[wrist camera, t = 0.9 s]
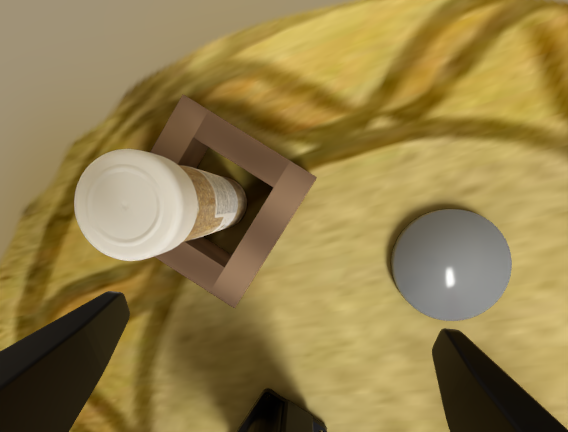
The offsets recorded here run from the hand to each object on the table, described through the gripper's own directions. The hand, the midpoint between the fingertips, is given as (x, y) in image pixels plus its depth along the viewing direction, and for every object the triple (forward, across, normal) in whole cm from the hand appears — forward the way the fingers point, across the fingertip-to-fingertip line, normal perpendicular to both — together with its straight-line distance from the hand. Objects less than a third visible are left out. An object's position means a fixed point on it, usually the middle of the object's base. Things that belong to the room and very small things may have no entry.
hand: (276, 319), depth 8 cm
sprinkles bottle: (+16, +6, +5) cm, 18 cm away
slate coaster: (+14, -13, +8) cm, 21 cm away
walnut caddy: (+16, +6, +5) cm, 18 cm away
